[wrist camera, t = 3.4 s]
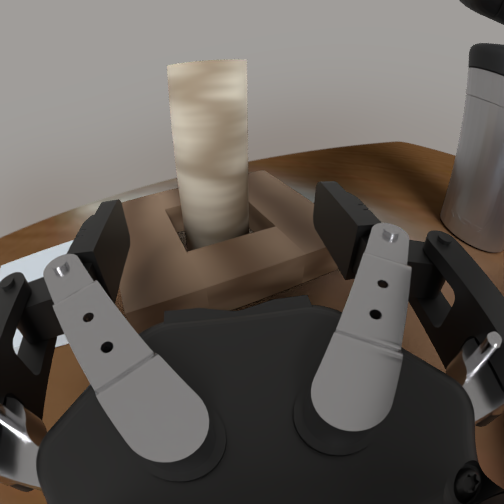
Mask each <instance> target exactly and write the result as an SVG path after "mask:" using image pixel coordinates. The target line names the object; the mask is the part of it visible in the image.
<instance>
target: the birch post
mask: <svg viewBox="0 0 504 504" xmlns="http://www.w3.org/2000/svg"><path fill="white" fill-rule="evenodd" d="M167 71H168V86H169V102H170V114H171V125H172V134H173V144H174V154H175V163H176V171H177V180H178V187H179V195H180V202H181V209H182V216H183V223H184V230H185V236H186V242H187V248H188V251H191V250H195V249H198V248H202V247H205V246H209V245H212V244H215V243H219V242H222V241H226V240H229V239H233V238H236V237H240V236H243V235H247V234H249V193H248V125H247V124H248V123H247V121H248V119H247V60H244V59H234V60H233V59H230V60H208V61H196V62H187V63H179V64H172V65H167Z"/></svg>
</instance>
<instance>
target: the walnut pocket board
mask: <svg viewBox="0 0 504 504" xmlns="http://www.w3.org/2000/svg"><path fill="white" fill-rule="evenodd" d="M248 193H249V228H250V229H251V230H252V231H253V232H254V233H250V234H247V235H243V236H240V237H236V238H233V239H229V240H226V241H222V242H219V243H215V244H212V245H209V246H205V247H202V248H198V249H195V250H191V251H188V252H186V250H185V248H184V246H183V244H182V242H181V240H180V238H179V236H178V234H177V232H181V231H184V223H183V216H182V209H181V202H180V195H179V188H176V189H172V190H168V191H163V192H160V193H156V194H152V195H148V196H144V197H140V198H137V199H133V200H129V201H126V202H122V206H123V210H124V214H125V218H126V222H127V226H128V230H129V234H130V248H129V252H128V255H127V259H126V262H125V266H124V270H123V273H122V277H121V281H120V285H119V286H120V291H121V297H122V302H123V307H124V312H125V315H126V317H127V319H128V322H129V324H130V325H131V326H132V327H133V329H134V330H135V331H136V332H137V333H138V334H139V333H141V332H142V331H144V330H146V329H148V328H149V327H151V326H154V325H156V324H159V323H162V322H164V311H171V310H182V309H193V308H206V309H217V310H228V311H231V310H233V309H236V308H239V307H242V306H244V305H247V304H250V303H253V302H255V301H258V300H261V299H263V298H266V297H269V296H271V295H274V294H276V293H279V292H282V291H284V290H287V289H289V288H292V287H295V286H297V285H300V284H302V283H305V282H307V281H310V280H312V279H315V278H317V277H320V276H322V275H325V274H327V273H329V272H332V271H334V270H337V269H339V268H338V267H337V265H336V263H335V262H334V260H333V258H332V256H331V255H330V253H329V251H328V250H327V248H326V246H325V245H324V243H323V241H322V240H321V238H320V236H319V235H318V233H317V232H316V230H315V227H314V223H313V211H314V203H312V202H311V201H310V200H308V199H307V198H305V197H304V196H302V195H301V194H299V193H298V192H296V191H295V190H293V189H292V188H290V187H289V186H287V185H286V184H284V183H283V182H281V181H280V180H278V179H277V178H275V177H274V176H272V175H271V174H269V173H267V172H266V171H264V170H261V171H256V172H251V173H248Z"/></svg>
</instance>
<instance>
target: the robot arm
mask: <svg viewBox="0 0 504 504" xmlns="http://www.w3.org/2000/svg"><path fill="white" fill-rule="evenodd" d="M460 1H461V2H462V3H463V4H464V5H465V6H466V7H468V8H470V9H471V10H473V11H475V12H477V13H479V14H481V15H483V16H486V17H488V18H490V19H492V20H494V21H497V22H499V23H501V24H503V25H504V0H460ZM466 94H467V95H466V100H465V107H464V115H463V121H462V127H461V132H460V138H459V143H458V148H457V153H456V157H455V162H454V166H453V170H452V174H451V178H450V182H449V185H448V189H447V193H446V196H445V200H444V203H443V207H442V210H441V213H440V217H441V220H442V222H443V223H444V225H445V226H446V227H447V228H448V229H449V230H450V231H451V232H452V233H453V234H454V235H456V236H457V237H458V238H460V239H461V240H463V241H464V242H466V243H468V244H470V245H472V246H474V247H476V248H478V249H481V250H484V251H487V252H494V253H495V252H501V251H503V250H504V45H500V44H489V43H479V44H475V45H473V46H472V47H471V49H470V52H469V69H468V80H467V90H466ZM313 223H314V227H315V230H316V232H317V233H318V235H319V236H320V238H321V240H322V241H323V243H324V245H325V246H326V248H327V250H328V251H329V253H330V255H331V256H332V258H333V260H334V262H335V263H336V265H337V267H338V268H339V270H340V272H341V274H342V275H343V277H344V279H345V280H349V279H355V280H354V283H353V286H352V289H351V291H350V294H349V297H348V300H347V302H346V305H345V308H344V310H343V313H342V312H340V311H338V310H335V309H332V308H328V307H324V306H318V305H311V303H310V300H309V298H308V295H303V296H296V297H288V298H281V299H273V300H270V301H267V302H264V303H262V304H259V305H256V306H253V307H250V308H246V309H243V310H240V311H228V310H217V309H206V308H193V309H182V310H171V311H164V322H162V323H159V324H156V325H154V326H151V327H149V328H148V329H146V330H144V331H142V332H141V333H139V334H138V333H137V332H136V331H135V330H134V329H133V327H132V326H131V325H130V324H129V322H128V321H127V320H126V319H125V317H124V316H123V315H122V313H121V312H120V311H119V309H118V308H117V307H116V306H115V301H116V297H117V293H118V289H119V285H120V281H121V277H122V273H123V270H124V266H125V262H126V259H127V255H128V252H129V248H130V234H129V230H128V226H127V222H126V218H125V214H124V210H123V206H122V203H121V201H120V200H112V201H106V202H102V203H101V204H100V206H99V208H98V210H97V211H96V213H95V215H92V216H91V217H89V218H88V219H87V220H86V221H85V222H84V223H83V225H82V226H81V228H80V230H79V232H78V233H77V235H76V238H75V239H74V240H73V242H72V244H71V246H70V248H69V250H68V252H67V254H64V255H61V256H59V257H57V258H55V259H53V260H52V261H51V262H50V263H49V264H48V265H47V266H46V267H45V269H44V272H43V276H44V277H41V278H39V279H36V280H33V281H31V282H27V280H26V278H25V276H24V274H23V273H21V272H15V273H12V274H9V275H8V276H6V277H5V278H3V279H2V280H1V281H0V483H1V484H4V485H7V486H11V487H13V488H16V489H18V490H21V491H24V492H29V491H32V490H33V489H37V490H40V491H43V494H44V496H45V498H46V501H47V503H48V504H504V489H502V488H501V487H499V486H498V485H496V484H495V483H494V482H492V481H491V480H490V479H489V478H488V477H487V476H486V475H485V474H484V473H483V471H482V469H481V467H480V465H479V463H478V459H477V452H476V444H475V425H476V426H479V427H482V426H486V425H487V424H489V423H490V422H492V421H493V420H494V419H496V418H497V417H498V416H499V415H501V414H502V413H503V412H504V297H503V296H502V294H501V293H500V292H499V290H498V289H497V288H496V286H495V285H494V284H493V283H492V281H491V280H490V279H489V278H488V276H487V275H486V274H485V273H484V271H483V270H482V269H481V268H480V267H479V266H478V264H477V263H476V262H475V261H474V260H473V259H472V257H471V256H470V255H469V254H468V253H467V252H466V251H465V249H464V248H463V247H462V246H461V245H460V244H459V243H458V242H457V241H456V240H455V239H454V238H453V237H452V236H450V235H448V234H446V233H444V232H441V231H430V232H429V233H428V234H427V237H426V240H425V242H421V241H413V240H409V236H408V234H407V233H406V232H405V231H404V230H403V229H401V228H400V227H398V226H396V225H393V224H389V223H381V222H380V221H379V220H378V219H377V217H376V216H375V215H374V214H373V213H372V212H371V211H370V210H368V208H367V207H366V206H365V205H363V203H362V202H361V201H360V200H359V199H358V198H357V197H356V196H354V195H352V194H350V193H348V192H346V191H345V190H344V189H343V188H342V187H341V186H340V185H339V184H338V183H337V182H335V181H332V182H318V183H317V186H316V193H315V202H314V211H313ZM445 280H446V281H447V282H448V283H449V285H450V286H451V287H452V289H453V291H454V294H455V301H454V304H453V306H452V307H451V306H450V304H449V303H448V301H447V300H446V298H445V297H444V296H443V294H442V293H441V289H442V287H443V285H444V283H445ZM408 301H409V303H410V305H411V306H412V308H413V310H414V311H415V313H416V315H417V317H418V318H419V320H420V322H421V324H422V325H423V327H424V329H425V331H426V333H427V334H428V336H429V338H430V340H431V342H432V344H433V345H434V347H435V349H436V351H437V353H438V355H439V357H440V359H441V361H442V363H443V365H444V367H445V369H446V374H445V373H444V372H442V371H440V370H439V369H437V368H435V367H434V366H432V365H430V364H428V363H427V362H425V361H423V360H422V359H420V358H418V357H417V356H415V355H413V354H412V353H410V352H408V351H407V350H405V349H403V348H402V347H401V345H402V339H403V333H404V327H405V321H406V314H407V306H408ZM16 329H18V330H19V331H20V333H21V334H22V335H23V338H22V341H21V344H20V347H19V351H18V354H16V353H15V351H14V348H13V338H14V335H15V332H16ZM63 334H65V336H66V338H67V340H68V342H69V344H70V346H71V348H72V350H73V352H74V354H75V356H76V358H77V360H78V362H79V364H80V366H81V368H82V370H83V371H84V373H85V375H86V377H87V379H88V380H89V382H90V385H89V386H88V387H87V389H86V390H85V391H84V392H83V393H82V394H81V395H80V396H79V397H78V398H77V400H76V401H75V402H74V403H73V404H72V405H71V406H70V407H69V409H68V410H67V411H66V412H65V413H64V414H63V415H62V416H61V418H60V419H59V420H58V421H57V422H56V423H55V424H54V426H53V427H52V428H51V429H50V430H49V431H48V432H47V430H46V427H45V425H44V423H43V421H42V418H43V410H44V402H45V396H46V389H47V383H48V378H49V373H50V368H51V363H52V358H53V353H54V349H55V345H56V341H57V336H60V335H63Z"/></svg>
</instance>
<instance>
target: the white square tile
mask: <svg viewBox="0 0 504 504" xmlns="http://www.w3.org/2000/svg"><path fill="white" fill-rule="evenodd" d="M72 242H73V241H69V242H66V243H63V244H60V245H57V246H55V247H52V248H49V249H46V250H43V251H40V252H37V253H34V254H32V255H29V256H26V257H23V258H20V259H18V260H15V261H12V262H10V263H7V264H4V265H2V266H1V268H0V281H1V280H2V279H3V278H5V277H6V276H8V275H9V274H12V273H15V272H21V273H23V274H24V276H25V278H26V280H27V282H31V281H33V280H36V279H39V278H41V277H44V276H43V272H44V269H45V267H46V266H47V265H48V264H49V263H50V262H51V261H52V260H53V259H55V258H57V257H59V256H61V255H64V254H67V252H68V250H69V248H70V246H71V244H72ZM22 338H23V335H22V334H21V333H20V331H19V330H18V329H16V332H15V335H14V338H13V348H14V351H15V353H16V354H18V351H19V347H20V344H21V341H22ZM68 343H69V342H68V340H67V338H66V336H65V334H63V335H60V336H57V341H56V345H55V347H58V346H61V345H65V344H68Z"/></svg>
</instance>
